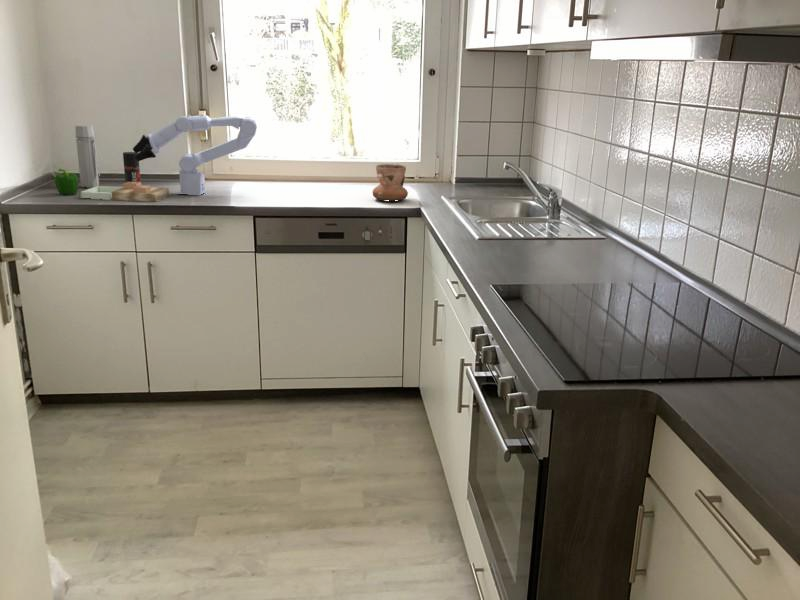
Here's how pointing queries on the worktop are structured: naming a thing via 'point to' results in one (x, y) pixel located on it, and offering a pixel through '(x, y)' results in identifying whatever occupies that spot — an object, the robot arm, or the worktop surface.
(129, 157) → the deodorant
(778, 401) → the worktop surface
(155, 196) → the board
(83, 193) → the tray
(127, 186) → the tile
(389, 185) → the brown clay vase
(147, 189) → the tile
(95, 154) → the water bottle
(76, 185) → the bell pepper
